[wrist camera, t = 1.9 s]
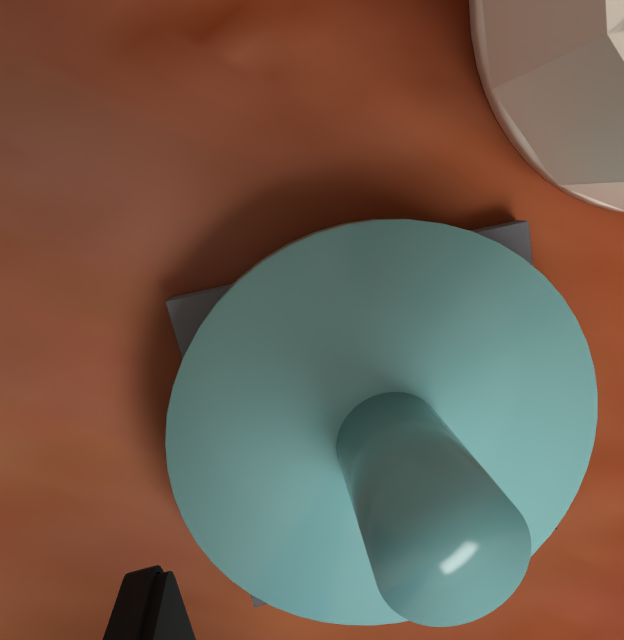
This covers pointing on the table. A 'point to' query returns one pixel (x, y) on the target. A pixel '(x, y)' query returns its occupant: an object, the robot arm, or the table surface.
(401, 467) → the lid
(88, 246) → the table surface
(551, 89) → the bowl
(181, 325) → the mat
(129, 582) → the robot arm
